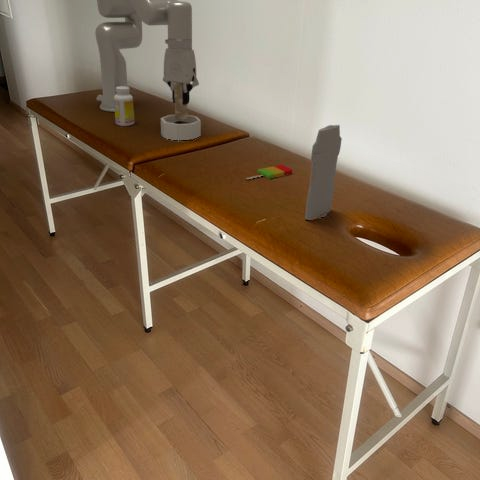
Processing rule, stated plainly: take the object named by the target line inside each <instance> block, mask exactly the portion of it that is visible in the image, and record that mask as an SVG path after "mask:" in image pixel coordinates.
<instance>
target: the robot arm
mask: <svg viewBox="0 0 480 480" xmlns="http://www.w3.org/2000/svg"><path fill="white" fill-rule="evenodd" d="M96 1H97V2H96V3H97V9H98V13H99V14H100V16H101V17H103V18H107V19H119V18H121V19H124V21H107V22H102V23H100V24H98V25H97V27H96V28H95V32H94V33H95V40H96V44H97V47H98V53H99V62H100V73H101V85H102V94H98V95H97V97H96V101H98V102H101V104H99V108H100V110H101V111H104V112H112V113H113V112H114V113H115V108H114V96H115V95H116V94H117V92H116V87H119V86H126V87H128V71H127V70H128V69H127V61H126V58H125V57H124V56H123V55H124V54H122V52H121V51H120V50H124V49H125V50H126V49H135V48H138V47H140V46H141V44H142V41H143V24H145V25H147V26H167V38H166V39H164V43H165V44H166V45H167V48H165V52H164V58H163V59H164V60H163V78H162V82H163V83H165V84H167V86H168V87H169V89H170V91H171V94H172V95H171V97H172V98H171V99H172V104H175V97H174V82H177V83H183V89H184V92H183V93H182V104H183V105H186V104H187V105H188V104H189V103H190V93H191V91H192V90H193V88H195V87H197V86H199V85H200V84H199V83H200V82H199V80H198V78H197V63H196V62H197V60H196V55H195V50H194V49H193V8H192V5H191V3H190V2H187V1H179V0H96ZM191 82H192V83H191Z"/></svg>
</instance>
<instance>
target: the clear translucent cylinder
mask: <svg viewBox="0 0 480 480" xmlns="http://www.w3.org/2000/svg"><path fill="white" fill-rule="evenodd" d="M183 92H184V89H183V83H177V82H174V97H175V103H174V112H175V114H174V115H175V119H176V120H182V121H183V120H185V119H187V118H188V115H189V113H188V104H186V105H183V104H182V93H183Z"/></svg>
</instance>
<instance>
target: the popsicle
mask: <svg viewBox="0 0 480 480" xmlns="http://www.w3.org/2000/svg"><path fill="white" fill-rule="evenodd" d="M256 172H257V173H259V174H261V175H259V174H257V173H256V174H257V175H253V176H248V177H246V178H245V180H246V179H247V180H246V181H249V179H250V180H254V179H253V178H255V179H258V178H257V177H259V178H262V177H261V176H265V177H267V178H268V179H269V178H274V177H278V178H280V177H279V176H282V177H284V176H283V175H287V174H291V173H292V174H293V169H292V168H290V167H288V166H286V165H284V164H278V165H274V166H269V167H263V168H258V169H257V171H256ZM292 174H291V175H292ZM287 176H288V175H287ZM268 179H267V180H268ZM274 179H275V178H274ZM269 180H270V179H269Z"/></svg>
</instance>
